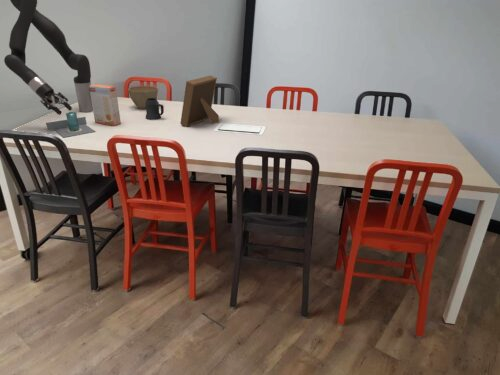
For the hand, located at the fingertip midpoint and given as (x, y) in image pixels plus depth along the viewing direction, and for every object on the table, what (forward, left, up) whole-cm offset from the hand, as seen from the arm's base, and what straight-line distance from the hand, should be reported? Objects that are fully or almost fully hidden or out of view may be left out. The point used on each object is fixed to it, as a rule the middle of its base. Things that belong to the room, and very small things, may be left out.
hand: (66, 111), depth 193 cm
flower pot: (-53, -21, -10) cm, 58 cm away
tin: (-2, +2, -10) cm, 10 cm away
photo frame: (-64, +30, -10) cm, 71 cm away
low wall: (-1, -7, -10) cm, 12 cm away
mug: (-47, +5, -10) cm, 48 cm away
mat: (-2, +2, -10) cm, 11 cm away
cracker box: (-21, -1, -10) cm, 23 cm away
